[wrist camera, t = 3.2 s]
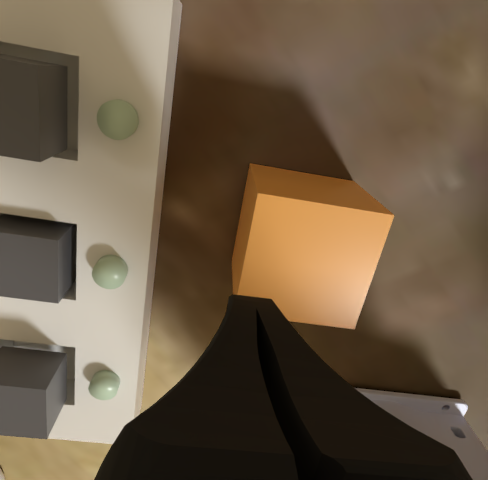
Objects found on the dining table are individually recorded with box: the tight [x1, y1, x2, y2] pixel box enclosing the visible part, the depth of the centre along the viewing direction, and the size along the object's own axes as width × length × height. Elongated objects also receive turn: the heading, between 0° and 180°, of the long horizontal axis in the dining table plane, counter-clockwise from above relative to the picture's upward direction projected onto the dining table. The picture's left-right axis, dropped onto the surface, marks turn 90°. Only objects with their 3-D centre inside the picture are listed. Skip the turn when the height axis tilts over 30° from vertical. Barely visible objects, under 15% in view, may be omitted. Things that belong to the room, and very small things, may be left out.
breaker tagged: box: [0, 214, 77, 303], centre depth 17 cm, size 3×3×2 cm
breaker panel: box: [0, 0, 182, 444], centre depth 18 cm, size 10×22×3 cm, turn 170°
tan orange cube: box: [232, 163, 394, 329], centre depth 17 cm, size 5×5×5 cm
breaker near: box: [0, 54, 68, 162], centre depth 13 cm, size 3×3×2 cm
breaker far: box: [0, 346, 67, 439], centre depth 18 cm, size 3×3×2 cm
